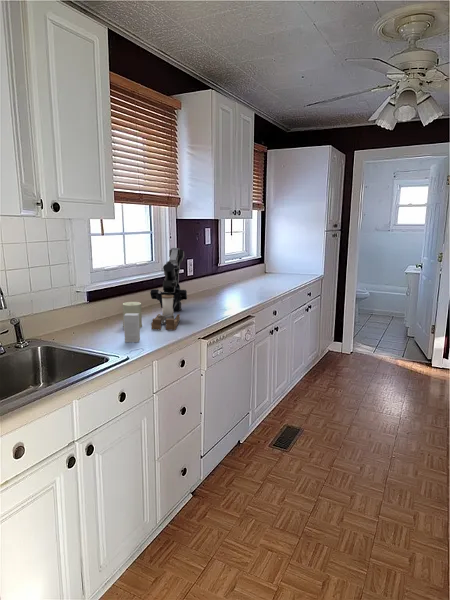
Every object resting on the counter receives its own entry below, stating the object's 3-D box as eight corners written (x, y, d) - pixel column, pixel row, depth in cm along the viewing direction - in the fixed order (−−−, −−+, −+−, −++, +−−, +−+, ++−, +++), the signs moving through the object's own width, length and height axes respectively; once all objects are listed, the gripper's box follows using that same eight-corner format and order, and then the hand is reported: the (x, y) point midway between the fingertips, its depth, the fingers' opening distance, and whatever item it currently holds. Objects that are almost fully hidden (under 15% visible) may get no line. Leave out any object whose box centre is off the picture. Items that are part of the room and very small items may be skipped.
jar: (159, 320, 215) (159, 295, 213) (168, 317, 220) (167, 293, 217) (168, 321, 212) (167, 296, 209) (176, 319, 216) (176, 295, 214)
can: (123, 329, 200) (122, 304, 198) (122, 324, 209) (121, 301, 206) (142, 328, 202) (142, 304, 200) (141, 323, 211) (140, 300, 209)
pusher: (158, 323, 210) (158, 314, 210) (174, 323, 210) (174, 315, 210) (155, 327, 203) (155, 318, 202) (172, 327, 203) (172, 318, 202)
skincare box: (140, 339, 184) (139, 313, 181) (138, 342, 179) (137, 315, 177) (126, 339, 183) (125, 313, 181) (124, 342, 179) (123, 315, 177)
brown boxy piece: (158, 319, 220) (158, 310, 219) (179, 319, 220) (179, 310, 219) (151, 329, 200) (151, 319, 199) (175, 329, 200) (175, 319, 199)
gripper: (150, 273, 215) (146, 299, 207) (186, 274, 215) (184, 299, 206) (153, 286, 224) (150, 310, 216) (188, 286, 224) (186, 311, 216)
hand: (167, 308), depth 213 cm, fingers closed on jar, 6 cm apart
